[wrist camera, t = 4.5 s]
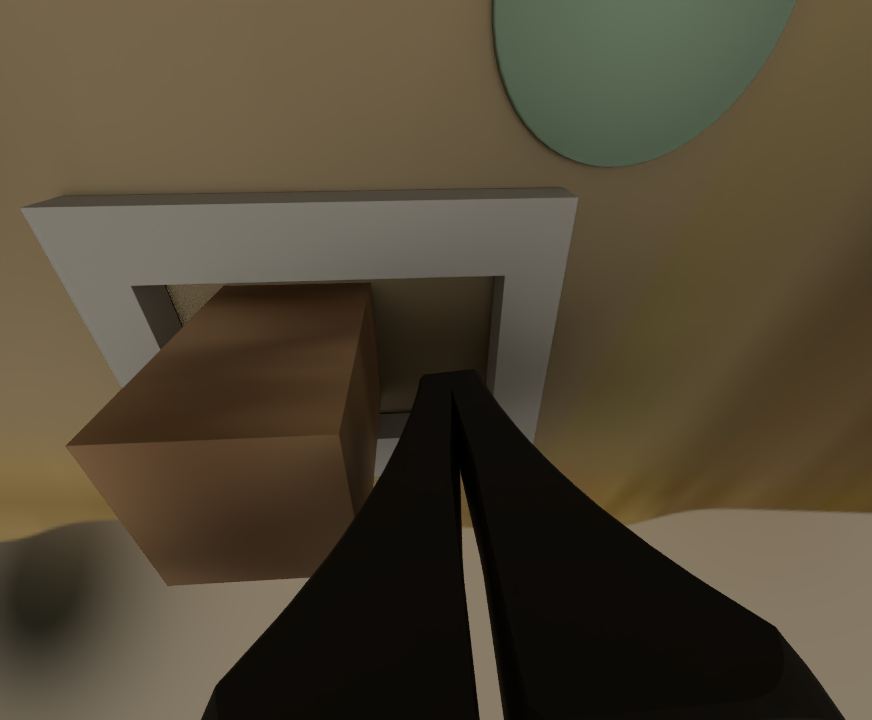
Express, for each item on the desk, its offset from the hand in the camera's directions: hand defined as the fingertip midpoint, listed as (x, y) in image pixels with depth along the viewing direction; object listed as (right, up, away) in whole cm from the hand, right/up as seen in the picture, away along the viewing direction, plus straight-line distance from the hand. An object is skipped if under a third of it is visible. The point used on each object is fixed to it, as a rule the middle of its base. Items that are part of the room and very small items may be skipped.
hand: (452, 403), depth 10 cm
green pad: (+4, +8, -2) cm, 9 cm away
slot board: (-3, +1, +2) cm, 4 cm away
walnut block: (-4, +2, +2) cm, 5 cm away
